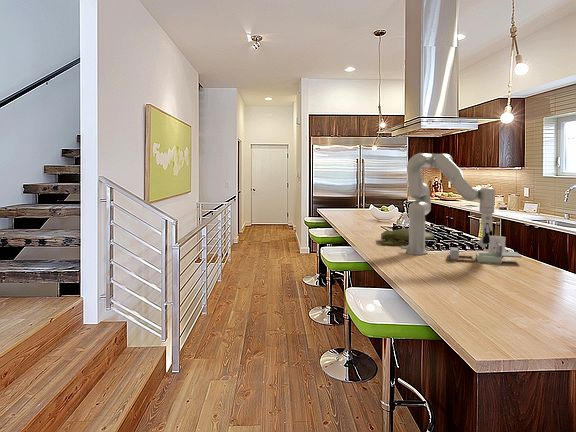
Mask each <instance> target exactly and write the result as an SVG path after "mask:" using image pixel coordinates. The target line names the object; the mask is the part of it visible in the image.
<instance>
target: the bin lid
mask: <svg viewBox="0 0 576 432" xmlns="http://www.w3.org/2000/svg"><path fill="white" fill-rule="evenodd" d="M494 253H495V254H496V255H497V256H498V257H502V258H520V259H521V258H522V255H521V254H520V253H518V251H505V252H502V245H501V244H500V243H497V251H494Z"/></svg>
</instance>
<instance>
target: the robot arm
mask: <svg viewBox="0 0 576 432" xmlns="http://www.w3.org/2000/svg"><path fill="white" fill-rule="evenodd" d="M423 168H424V169H425V168H433V169H435V168H436V169H438V170H439V171H440V172H441V173H442V174H443V176H445V178H447V180H448V181H449V183H450V184H451V185H452V187H453V188H454V190H455V191H456V192H457V193H458V194H459V195H460V196H461V198H463V200H465V201H467V202H474V201H479V213H480V214H481V217H480V218H481V222H480V223H481V225H480V227H481V231H482V236H483V235H484V236H483V243H484V244H487V245H489V239H490V236H491V235H490V232H493V214H494V213H495V198H496V197H495V196H496V191H495V188H493V187H477V186H471V184H469V182H467V180H466V179H465V177H464V174H463V171H462V169H461V168H460V167H459V166H457V164H456V163H455V162H454V158H453V157H452V155H450V154H448V153H429V152H428V153H427V152H426V153H425V152H424V153H423V152H418V153H416V154H414V155H413V156H411V157H410V158H409V160H408V161H407V165H406V172H407V174H406V175H407V185H408V186H407V187H408V194H409V196H410V198H412V199H414V201H413V202H412V203H410V204H409V207H408V211H407V212H408V227H409V240H408V243H409V245H408V246H400V249H401V250H405V253H406V254H409V255H415V256H416V255H417V256H421V255H427V254H428V251H427V250H426V246H425V244H426V240H425V231H426V216H427V215H428V214H429V213H430V212H431V211H432V208H431V207H432V204H431V203H432V202H431V193H430V192H431V191H430V188H429V186H428V184H426V183H425V182H424V181H423V172H422V169H423Z"/></svg>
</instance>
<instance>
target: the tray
mask: <svg viewBox="0 0 576 432" xmlns="http://www.w3.org/2000/svg"><path fill="white" fill-rule="evenodd" d="M446 257H447V262H460V263H461V262H462V263H476V258H475V257H474V256H473V255H461V254H459V259H450V254H447V256H446ZM462 258H463V259H462Z"/></svg>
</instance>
